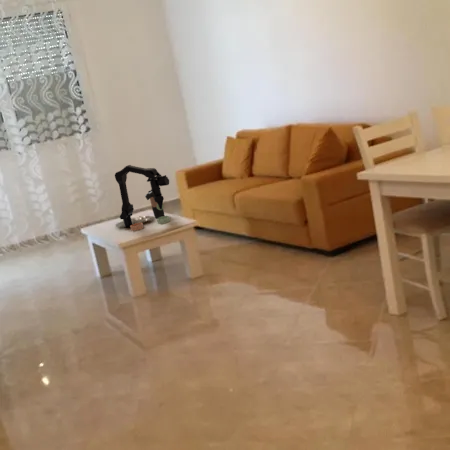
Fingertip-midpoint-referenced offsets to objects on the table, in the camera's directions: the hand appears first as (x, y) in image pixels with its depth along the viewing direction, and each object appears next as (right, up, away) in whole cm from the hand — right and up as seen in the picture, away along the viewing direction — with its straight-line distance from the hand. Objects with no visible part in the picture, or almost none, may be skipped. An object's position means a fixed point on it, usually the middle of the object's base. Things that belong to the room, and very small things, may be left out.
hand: (160, 208), depth 482 cm
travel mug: (-2, -6, +20) cm, 21 cm away
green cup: (+2, -9, +2) cm, 10 cm away
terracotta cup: (-16, -14, 0) cm, 21 cm away
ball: (0, +1, 0) cm, 2 cm away
